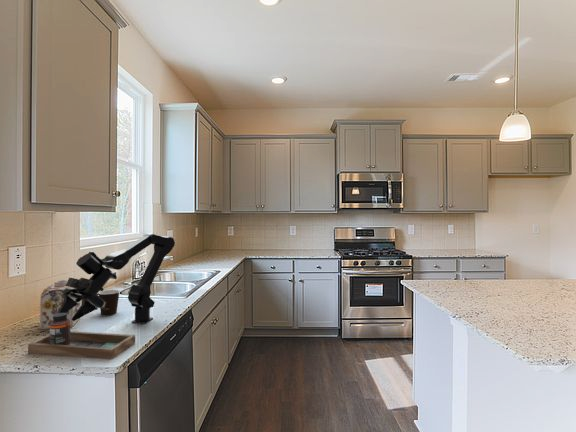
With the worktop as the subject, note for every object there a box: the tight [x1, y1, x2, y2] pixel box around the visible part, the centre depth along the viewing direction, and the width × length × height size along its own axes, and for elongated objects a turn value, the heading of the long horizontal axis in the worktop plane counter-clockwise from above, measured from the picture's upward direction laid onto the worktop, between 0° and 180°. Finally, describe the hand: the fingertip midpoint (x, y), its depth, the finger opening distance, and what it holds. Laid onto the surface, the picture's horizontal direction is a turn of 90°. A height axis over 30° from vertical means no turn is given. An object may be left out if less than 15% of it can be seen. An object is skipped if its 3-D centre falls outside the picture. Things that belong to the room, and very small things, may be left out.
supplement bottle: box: [49, 313, 71, 345], centre depth 117 cm, size 6×6×11 cm
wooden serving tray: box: [27, 330, 136, 360], centre depth 116 cm, size 13×30×3 cm, turn 83°
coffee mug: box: [97, 289, 120, 317], centre depth 155 cm, size 12×9×10 cm
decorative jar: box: [39, 279, 81, 330], centre depth 140 cm, size 12×12×18 cm
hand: (65, 318), depth 118 cm, fingers open, 9 cm apart
